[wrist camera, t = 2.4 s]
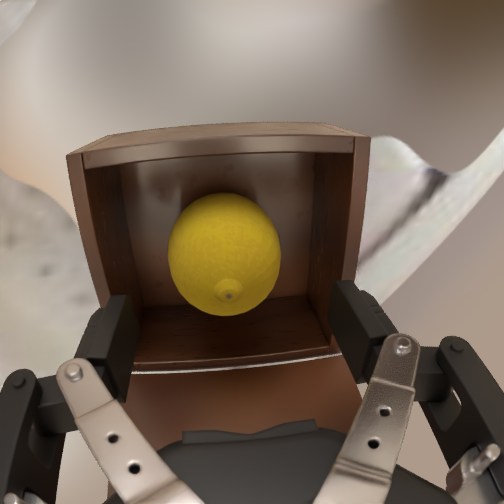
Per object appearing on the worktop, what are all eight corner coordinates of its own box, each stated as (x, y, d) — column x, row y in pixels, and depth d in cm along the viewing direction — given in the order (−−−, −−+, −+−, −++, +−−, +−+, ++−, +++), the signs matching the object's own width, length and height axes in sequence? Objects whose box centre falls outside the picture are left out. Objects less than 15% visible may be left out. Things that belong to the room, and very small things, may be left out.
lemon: (277, 190, 19) (319, 251, 12) (249, 269, 21) (270, 355, 14) (187, 165, 18) (173, 215, 11) (166, 250, 20) (149, 335, 13)
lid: (107, 601, 5) (146, 596, 9) (421, 563, 7) (378, 569, 10) (120, 373, 17) (145, 420, 20) (344, 354, 18) (328, 403, 21)
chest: (107, 135, 17) (65, 155, 11) (323, 122, 18) (371, 137, 13) (138, 309, 23) (123, 372, 17) (312, 295, 24) (340, 353, 19)
